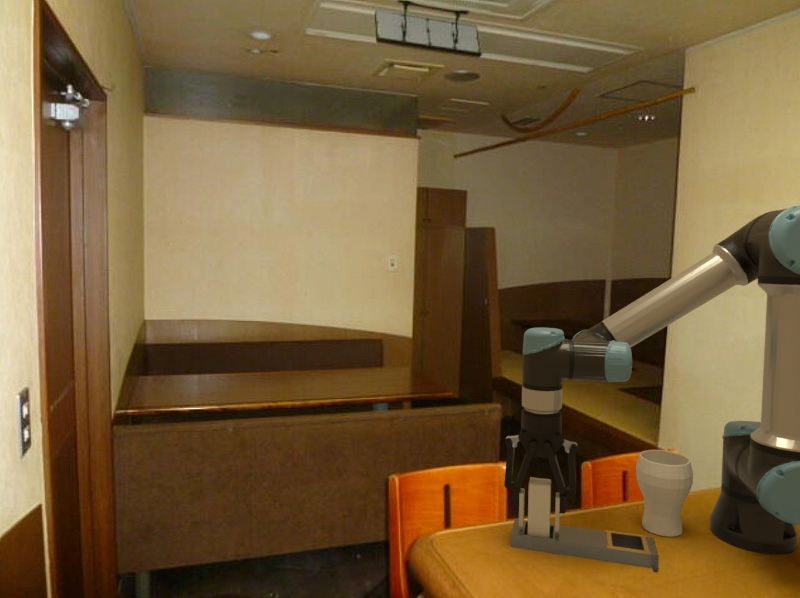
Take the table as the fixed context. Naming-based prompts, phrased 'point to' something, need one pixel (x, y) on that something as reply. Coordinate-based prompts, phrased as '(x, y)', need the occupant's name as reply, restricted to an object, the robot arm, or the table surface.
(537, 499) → the peg
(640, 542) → the grey peg hole board
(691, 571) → the table surface
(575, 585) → the table surface
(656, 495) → the cup
